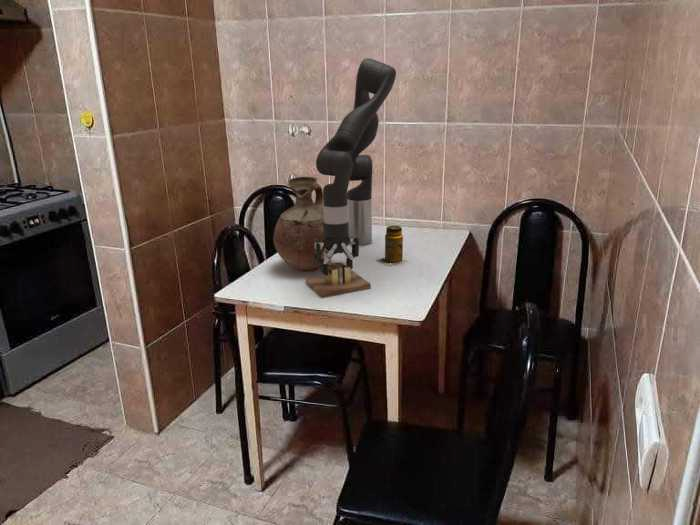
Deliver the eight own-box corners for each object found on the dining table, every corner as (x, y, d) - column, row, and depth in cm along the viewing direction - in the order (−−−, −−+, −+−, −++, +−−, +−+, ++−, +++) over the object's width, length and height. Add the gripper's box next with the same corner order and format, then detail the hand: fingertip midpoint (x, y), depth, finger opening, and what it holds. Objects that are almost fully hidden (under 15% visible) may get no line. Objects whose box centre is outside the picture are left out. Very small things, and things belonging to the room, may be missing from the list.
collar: (324, 279, 164) (324, 264, 162) (342, 276, 166) (342, 261, 165) (332, 286, 159) (332, 270, 157) (350, 282, 161) (350, 267, 159)
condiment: (407, 261, 184) (408, 227, 180) (388, 266, 179) (388, 231, 175) (394, 256, 190) (394, 223, 186) (375, 260, 185) (375, 227, 181)
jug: (263, 274, 174) (256, 183, 164) (292, 254, 193) (288, 171, 183) (325, 281, 167) (321, 186, 157) (348, 260, 186) (347, 174, 176)
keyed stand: (305, 283, 166) (304, 263, 163) (352, 275, 172) (352, 255, 170) (321, 297, 154) (320, 276, 152) (370, 288, 161) (370, 268, 158)
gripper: (317, 225, 150) (319, 280, 156) (363, 219, 156) (364, 272, 161) (308, 220, 157) (310, 272, 162) (352, 214, 162) (353, 265, 168)
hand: (337, 272), depth 162 cm, fingers open, 7 cm apart
